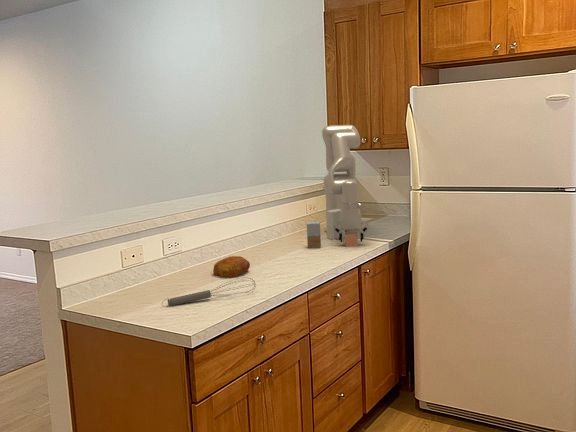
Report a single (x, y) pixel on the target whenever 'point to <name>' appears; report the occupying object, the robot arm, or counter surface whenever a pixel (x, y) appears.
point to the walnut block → (314, 241)
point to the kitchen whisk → (202, 295)
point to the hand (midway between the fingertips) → (351, 241)
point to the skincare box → (331, 219)
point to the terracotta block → (351, 239)
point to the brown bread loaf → (231, 266)
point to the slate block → (313, 228)
